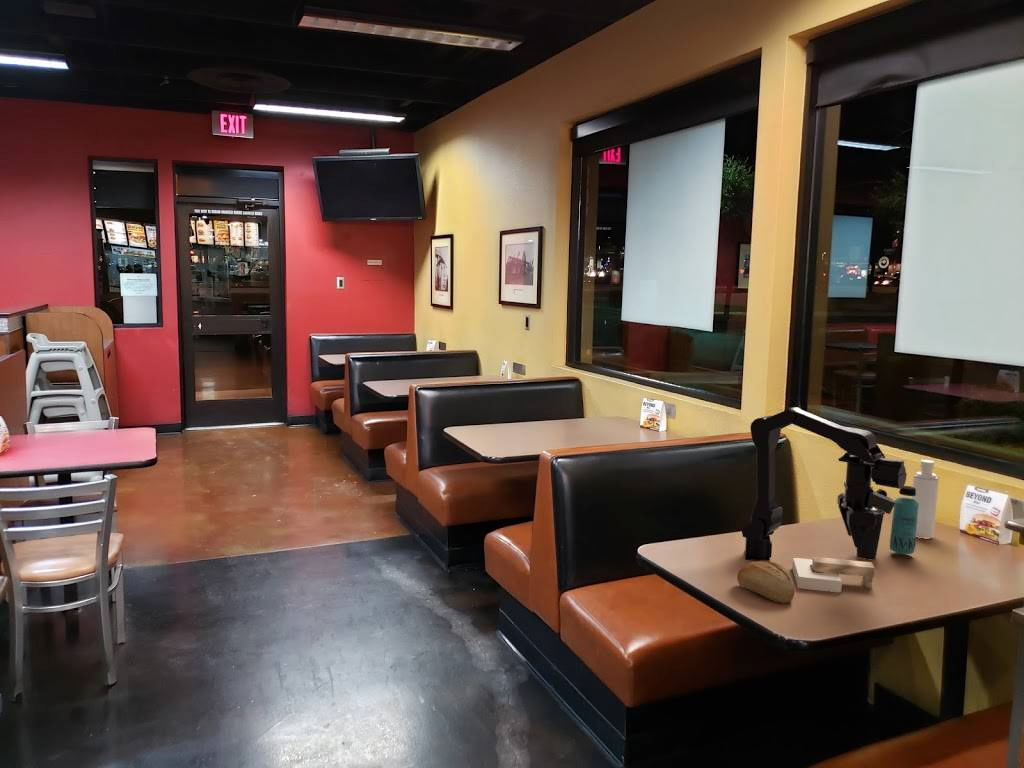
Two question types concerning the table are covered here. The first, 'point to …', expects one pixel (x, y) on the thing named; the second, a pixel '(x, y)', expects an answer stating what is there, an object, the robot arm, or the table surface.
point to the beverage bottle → (904, 522)
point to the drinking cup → (871, 537)
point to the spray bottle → (926, 498)
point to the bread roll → (767, 580)
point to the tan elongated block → (845, 568)
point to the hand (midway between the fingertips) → (853, 541)
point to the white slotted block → (814, 577)
